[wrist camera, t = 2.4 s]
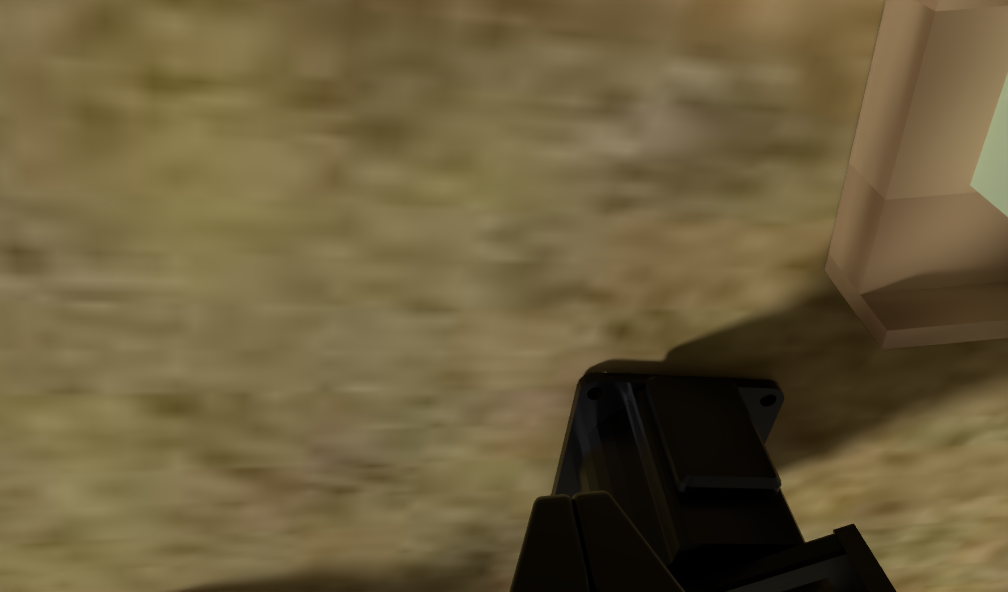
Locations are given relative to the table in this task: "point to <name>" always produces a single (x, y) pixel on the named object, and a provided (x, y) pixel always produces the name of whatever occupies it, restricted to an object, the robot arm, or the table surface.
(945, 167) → the box
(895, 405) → the table surface
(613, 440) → the robot arm
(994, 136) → the block
